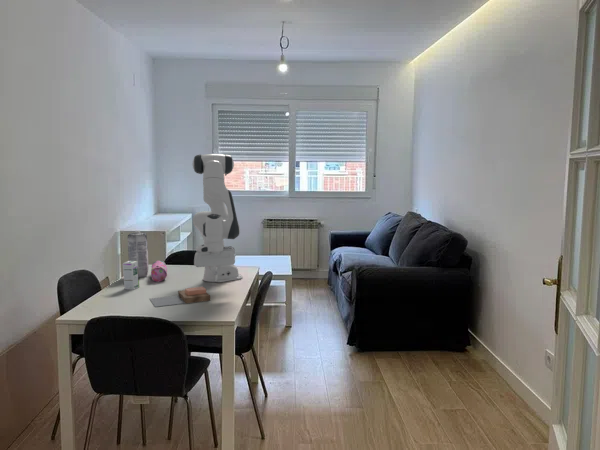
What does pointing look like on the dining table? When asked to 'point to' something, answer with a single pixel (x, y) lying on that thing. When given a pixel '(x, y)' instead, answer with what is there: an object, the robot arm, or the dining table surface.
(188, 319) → the dining table surface
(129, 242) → the juice carton
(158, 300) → the mat
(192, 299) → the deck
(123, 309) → the dining table surface
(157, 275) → the pencil case
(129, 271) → the syrup box
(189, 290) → the salmon pink rectangular block
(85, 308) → the dining table surface
